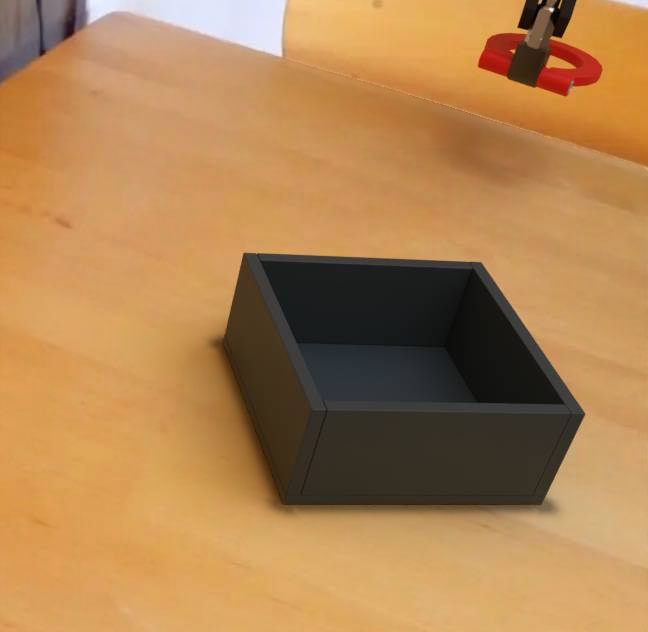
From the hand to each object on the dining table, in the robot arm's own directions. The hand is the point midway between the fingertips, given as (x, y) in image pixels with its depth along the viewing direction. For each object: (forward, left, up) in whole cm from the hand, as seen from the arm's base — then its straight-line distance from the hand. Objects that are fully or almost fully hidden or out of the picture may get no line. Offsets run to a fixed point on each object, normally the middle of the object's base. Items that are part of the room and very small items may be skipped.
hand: (543, 22), depth 86 cm
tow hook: (-3, -3, -4) cm, 6 cm away
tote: (+17, +27, -13) cm, 35 cm away
